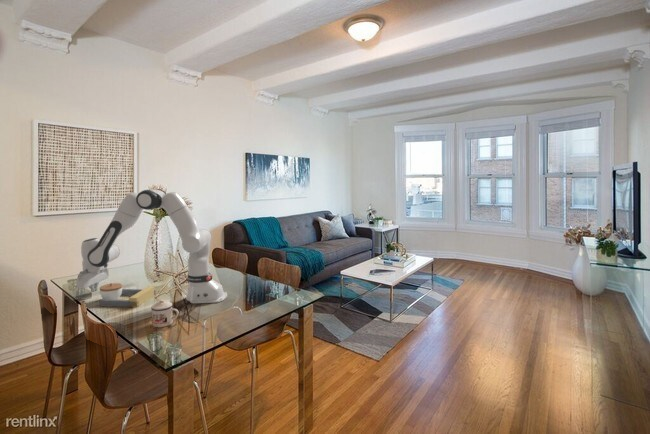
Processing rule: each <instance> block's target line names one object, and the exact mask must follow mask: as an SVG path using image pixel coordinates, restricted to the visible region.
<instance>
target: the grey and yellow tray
mask: <svg viewBox="0 0 650 434" xmlns="http://www.w3.org/2000/svg"><path fill="white" fill-rule="evenodd" d="M122 295H123V296H130V297H129V299H118V300H108V299H103V298H101V299H98V306H99V307H100V306H103V307H130V308H132V307H134V308H137V307H139V306H141V305H142V304H144V303H145V302H147V301H148V300H150V299H151V298H153V297H154V295H155V296H156V286H152V285H149V286H147V287H145V288H143V289H142V288H141V289H138V288H122V294H121V296H122ZM149 298H150V299H149ZM146 300H147V301H146ZM143 302H144V303H143ZM140 304H141V305H140Z"/></svg>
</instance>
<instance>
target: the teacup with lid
mask: <svg viewBox="0 0 650 434" xmlns="http://www.w3.org/2000/svg"><path fill="white" fill-rule="evenodd" d="M173 307H174V306H173V303H172V302H170V301H166V300H164V299H159V300H158V302H156V303H153V304H152V305H151V308H150V309H151V317H152V326H153V327H154V326H155V328H164V327H168V326H170V325H172V324H173V322H174V320H175V319H176V318H178V316H179V313H180V312H179V310H178V309H177V308H173ZM173 311H174V312H175V313H176V314H175V316H173Z"/></svg>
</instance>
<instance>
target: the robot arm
mask: <svg viewBox="0 0 650 434" xmlns="http://www.w3.org/2000/svg"><path fill="white" fill-rule="evenodd" d="M161 208H162V209H164V211H165V212H166V214H167V216H168V217H169V218H170V220H171V221H172V223H173V224H174V226H175V228H176V229H177V232H178V234H179V237H180V239H181V246H182V249H184V251H186V252H187V253H189V255H188V259H187V283H188V284H187V293H186V297H185V299H186V301H188V302H189V303H191V304H208V303H209V304H216V303H220V302H222V301H224V300H225V299H227V297H228V292H226V291H224V288H223V285H222V284H221V283H219V282H217V281H216V280H214V279H213V276H214V273H210V265H209V264H210V263H209V258H210V250H211V241H212V234H211V232H210V231H209V230H207V229H205V228H199V226H198V224H197V221H196V219H197V218H196V217H195V215H194V214H193V212H192V210H191V209H190V207H189V206H188V205H187V203H186V201H185V200H184V199H183V197H181V196H180V194H179V193H177V192H175V191H174V192H173V191H171V192H166V191H164V190H162V189H159V188H158V189H157V188H156V189H154V188H149V189H143V190H141V191H139V192H138V193H136V192H130V193H127V194H126V195H125V197H124V198H123V199H122V201H121V202H120V204H119V206H118V208H117V209H116V212H115V213H114V215H113V217H112V219H111V221H110V223H109V224H108V226H107V228H106V229H105V231H104V232H103V234H102V235H101V238H100V239H99V238H98V237H93V238H92V237H91V238H88V239H85V240H83V241H82V242H81V245H80V246H81V247H80V250H81V258H82V265H81V267H82V271H80V272H79V273H78V274H77V277H76V288H77V289H79V290H84V289H85V290H86V289H87V288H89V290H90V292H91V293H94V292H97V291H98V288H99V287H98V286H99V285H100V284H99V283H100V282H102V281H104V280H106V279H109V276H110V275H109V268H108V266H109V264H110V263H111V262H112V261H114V260H116V259H117V258H119V256H120V255H121V250H120V248H119V246H118V245H116V244H115V242H116V240H117V238H118V237H119V236H120V235H121V234H123V233H124V232H125V231H127V230H128V229H130V228H132V227H133V226H134V225H135V224H136V222H137V221H138V219H139V218H140V216H141V214H142V212H143V210H146V211H151V210H158V209H161Z"/></svg>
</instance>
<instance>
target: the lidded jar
mask: <svg viewBox="0 0 650 434" xmlns="http://www.w3.org/2000/svg"><path fill="white" fill-rule="evenodd" d="M122 289H123V284H122V283H120V282H119V283H117V282H112V283H111V282H110V283H108V284H104V285H101V286H100V287H99V294H100V297H101V299H108V300H119V298H120V297H121V296H122V295H121V294H122Z"/></svg>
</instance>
